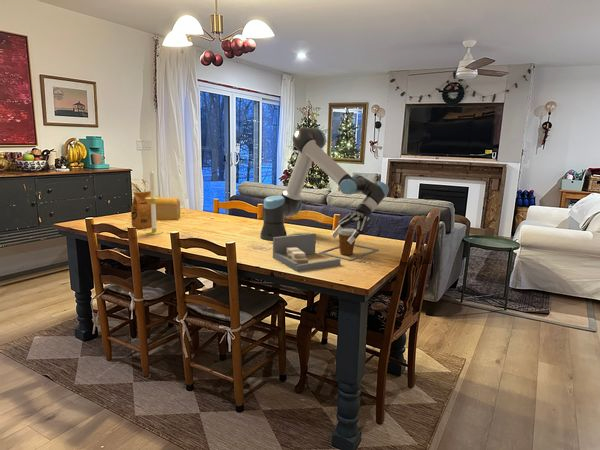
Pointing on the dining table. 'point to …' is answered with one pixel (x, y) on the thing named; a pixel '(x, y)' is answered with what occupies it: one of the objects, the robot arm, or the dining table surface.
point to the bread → (167, 208)
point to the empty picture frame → (347, 258)
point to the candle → (152, 204)
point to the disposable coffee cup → (343, 237)
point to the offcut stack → (296, 255)
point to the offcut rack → (304, 244)
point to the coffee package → (141, 210)
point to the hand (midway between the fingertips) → (340, 239)
